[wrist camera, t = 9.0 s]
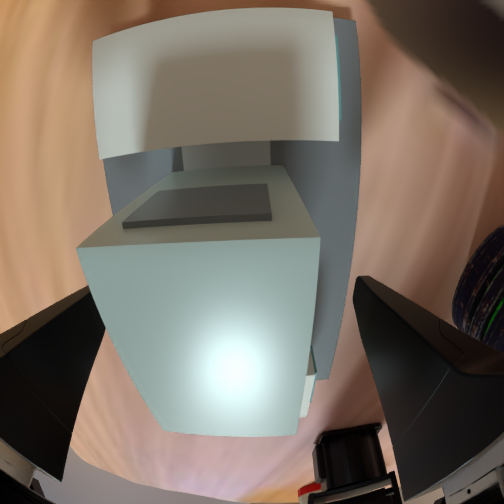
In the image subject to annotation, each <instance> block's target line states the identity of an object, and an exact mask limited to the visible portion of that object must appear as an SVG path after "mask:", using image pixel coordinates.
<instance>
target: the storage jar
mask: <svg viewBox="0 0 504 504" xmlns="http://www.w3.org/2000/svg"><path fill="white" fill-rule="evenodd" d="M452 317H453V321H454V324H455V325H456V326H457V328H458V329H459V330H460V331H462V332H464V333H466V334H468V335H470V336H471V337H473V338H475V339H477V340H479V341H481V342H483V343H484V344H486V345H488V346H490V347H492V348H494V349H496V350H497V351H500V352H502V353H504V225H502V226H501V227H499V228H497V229H496V230H495V231H494V232H492V233H491V234H490V235H489V236H488V237H487V238H486V239H485V240H484V242H483V243H482V244H481V245H480V246H479V248H478V249H477V250H476V252H475V253H474V255H473V256H472V258H471V259H470V261H469V263H468V264H467V266H466V268H465V270H464V272H463V274H462V276H461V278H460V280H459V283H458V285H457V288H456V291H455V294H454V298H453V304H452Z"/></svg>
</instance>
